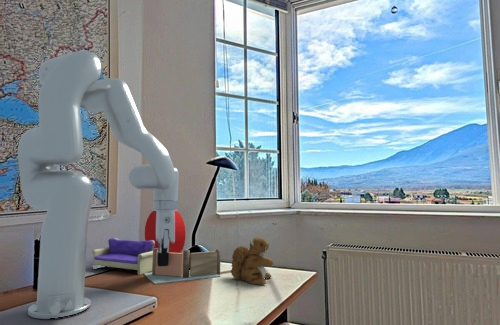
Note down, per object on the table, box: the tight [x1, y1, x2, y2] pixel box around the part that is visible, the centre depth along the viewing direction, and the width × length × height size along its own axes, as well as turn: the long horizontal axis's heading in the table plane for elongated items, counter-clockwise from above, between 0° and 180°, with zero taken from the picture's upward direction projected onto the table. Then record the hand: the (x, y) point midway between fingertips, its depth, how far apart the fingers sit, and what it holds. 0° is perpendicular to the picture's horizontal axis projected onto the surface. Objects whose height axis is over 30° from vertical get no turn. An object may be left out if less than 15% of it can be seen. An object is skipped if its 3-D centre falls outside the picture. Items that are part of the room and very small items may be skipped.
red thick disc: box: [144, 210, 187, 253], centre depth 140 cm, size 20×6×20 cm, turn 47°
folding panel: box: [151, 248, 183, 277], centre depth 112 cm, size 2×10×8 cm, turn 76°
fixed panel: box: [182, 248, 222, 278], centre depth 113 cm, size 2×13×8 cm, turn 120°
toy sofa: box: [91, 237, 155, 276], centre depth 120 cm, size 21×9×10 cm, turn 69°
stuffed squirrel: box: [230, 236, 274, 286], centre depth 110 cm, size 10×14×13 cm
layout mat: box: [143, 270, 221, 285], centre depth 114 cm, size 14×21×1 cm, turn 120°
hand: (162, 265), depth 109 cm, fingers closed
